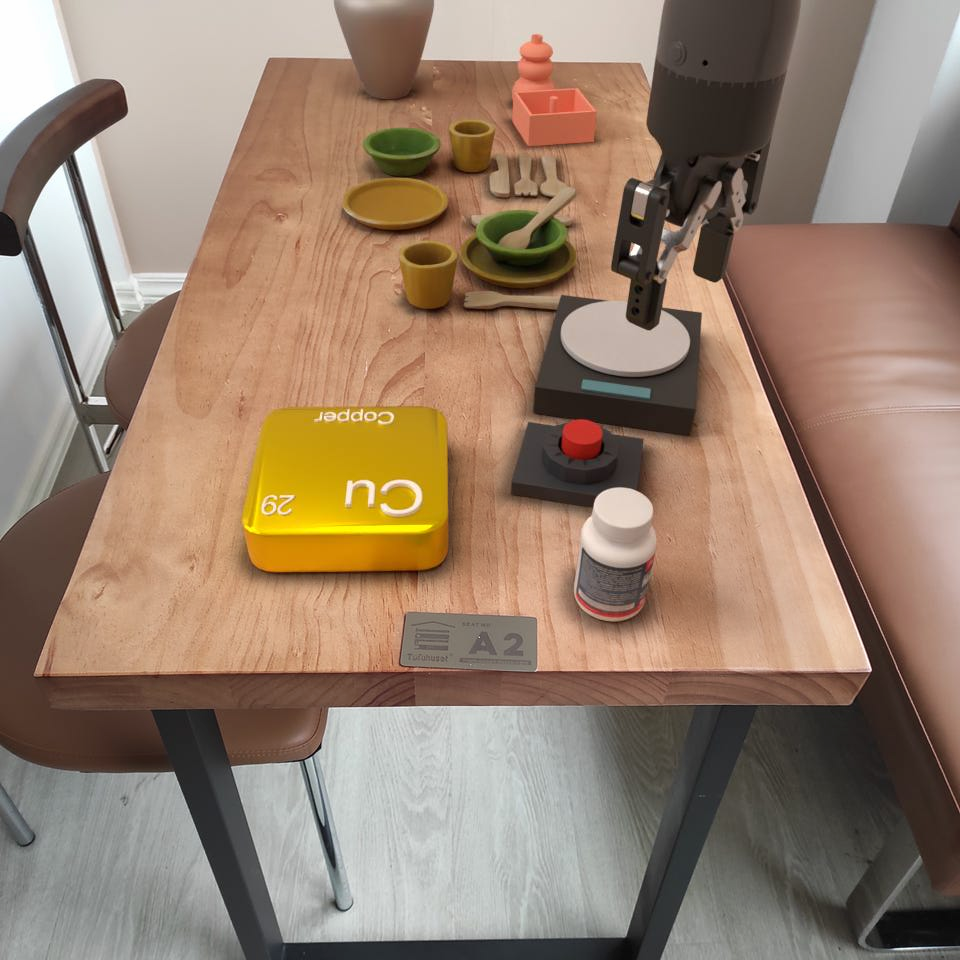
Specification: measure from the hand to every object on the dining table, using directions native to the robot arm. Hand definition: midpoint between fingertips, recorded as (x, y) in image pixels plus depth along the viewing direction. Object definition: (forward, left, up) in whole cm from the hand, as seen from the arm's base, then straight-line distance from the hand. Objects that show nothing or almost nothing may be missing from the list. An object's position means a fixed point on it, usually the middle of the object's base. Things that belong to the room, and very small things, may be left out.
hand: (675, 299), depth 64 cm
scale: (+3, -16, -18) cm, 24 cm away
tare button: (+5, -1, -15) cm, 16 cm away
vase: (+45, -82, -18) cm, 95 cm away
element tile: (+22, +7, -18) cm, 30 cm away
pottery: (+20, -77, -18) cm, 82 cm away
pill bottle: (+1, +12, -18) cm, 22 cm away
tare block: (+5, -1, -18) cm, 19 cm away
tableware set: (+25, -42, -18) cm, 52 cm away
